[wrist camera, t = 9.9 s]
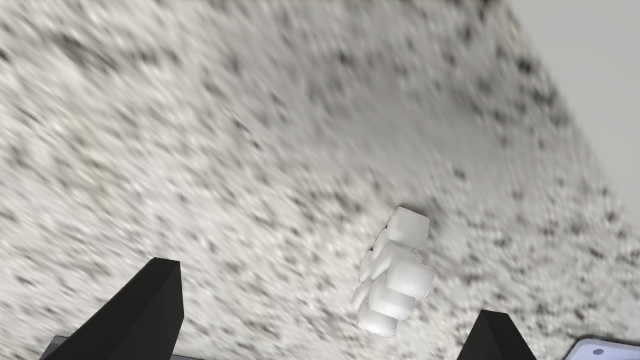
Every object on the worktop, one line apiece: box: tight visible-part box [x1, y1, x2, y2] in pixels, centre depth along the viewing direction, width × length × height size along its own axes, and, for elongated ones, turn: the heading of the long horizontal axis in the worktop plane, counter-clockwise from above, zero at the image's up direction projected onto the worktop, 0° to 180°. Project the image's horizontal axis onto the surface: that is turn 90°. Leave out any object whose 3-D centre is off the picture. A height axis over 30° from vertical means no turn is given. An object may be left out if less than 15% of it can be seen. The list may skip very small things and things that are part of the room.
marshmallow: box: [352, 207, 435, 338], centre depth 21 cm, size 5×1×4 cm, turn 157°
